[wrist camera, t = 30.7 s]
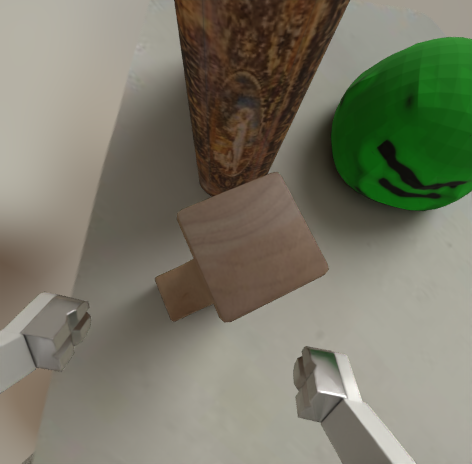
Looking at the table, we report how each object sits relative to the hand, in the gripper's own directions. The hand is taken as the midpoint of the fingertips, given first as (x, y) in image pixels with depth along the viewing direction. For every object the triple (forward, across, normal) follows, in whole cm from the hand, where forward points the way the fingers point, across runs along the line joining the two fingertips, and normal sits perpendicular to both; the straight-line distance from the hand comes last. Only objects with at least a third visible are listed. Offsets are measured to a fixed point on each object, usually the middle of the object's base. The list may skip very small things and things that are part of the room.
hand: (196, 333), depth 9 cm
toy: (+21, -14, -5) cm, 26 cm away
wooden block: (+10, 0, +7) cm, 12 cm away
